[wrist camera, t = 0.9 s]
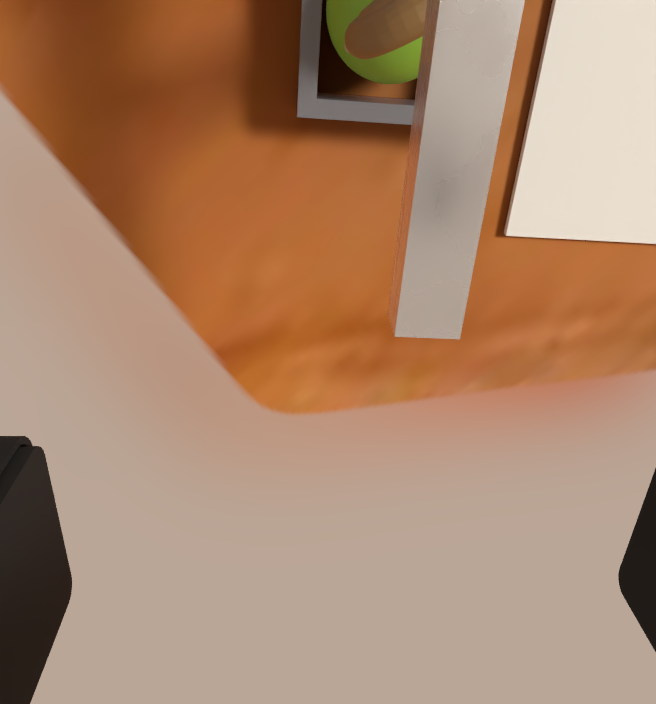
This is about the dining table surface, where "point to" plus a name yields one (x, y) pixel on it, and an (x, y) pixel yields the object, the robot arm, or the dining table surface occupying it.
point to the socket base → (337, 104)
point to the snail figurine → (378, 37)
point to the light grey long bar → (450, 161)
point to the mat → (591, 127)
